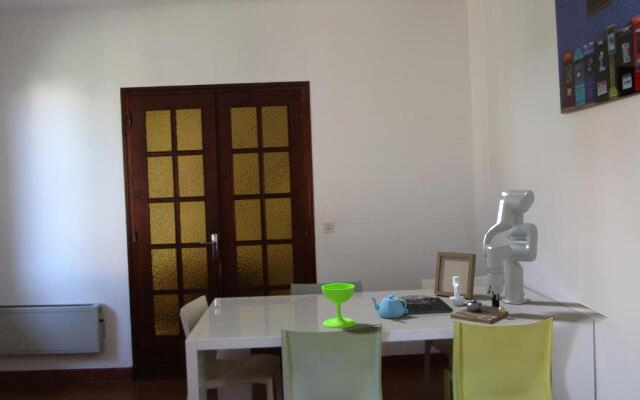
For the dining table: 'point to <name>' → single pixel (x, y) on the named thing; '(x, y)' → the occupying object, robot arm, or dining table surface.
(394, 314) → the teapot
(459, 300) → the figurine
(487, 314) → the stand board
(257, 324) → the dining table surface
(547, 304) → the dining table surface
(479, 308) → the grey metal elongated piece
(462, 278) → the photo frame
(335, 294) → the wineglass
